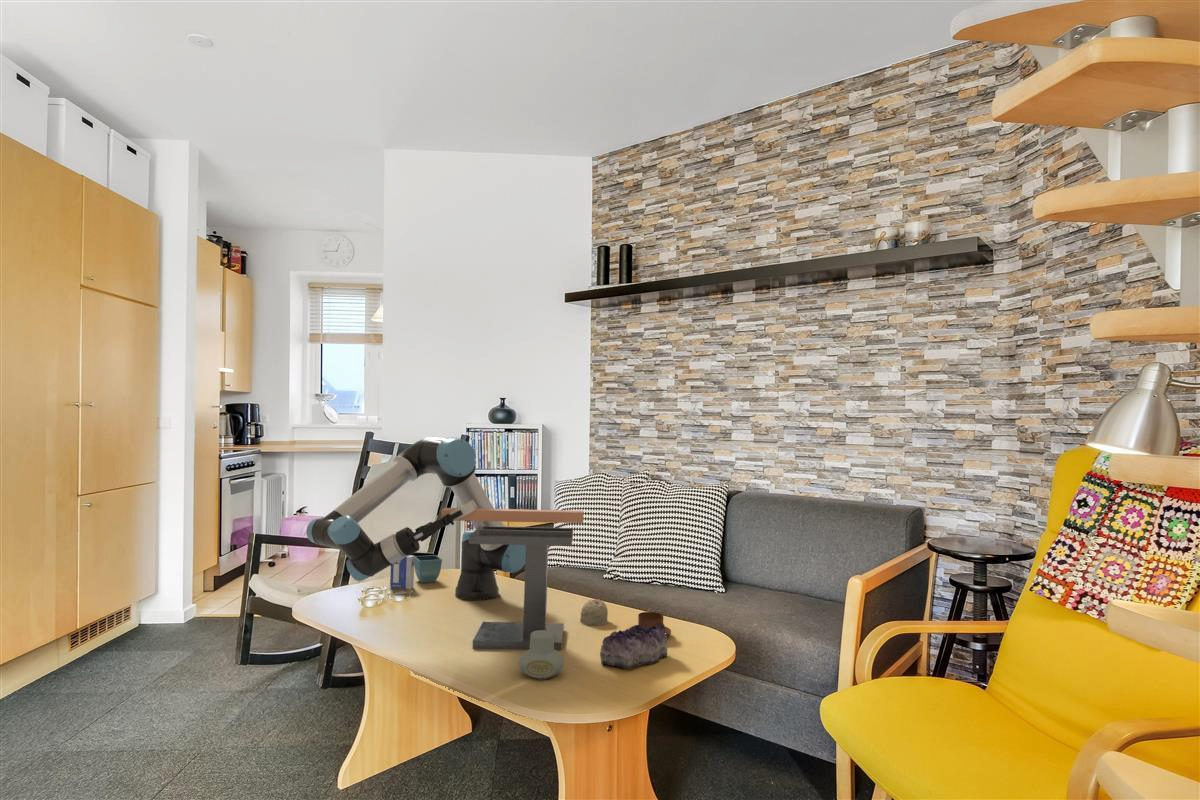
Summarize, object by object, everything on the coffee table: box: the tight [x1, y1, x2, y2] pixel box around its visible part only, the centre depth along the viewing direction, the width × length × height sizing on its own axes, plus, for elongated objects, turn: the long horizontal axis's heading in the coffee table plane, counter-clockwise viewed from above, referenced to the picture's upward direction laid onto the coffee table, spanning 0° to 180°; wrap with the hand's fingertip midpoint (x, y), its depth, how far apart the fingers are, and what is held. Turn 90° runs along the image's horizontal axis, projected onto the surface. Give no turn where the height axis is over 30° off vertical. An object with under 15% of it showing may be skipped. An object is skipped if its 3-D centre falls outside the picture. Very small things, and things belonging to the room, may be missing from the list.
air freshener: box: [518, 630, 565, 680], centre depth 165 cm, size 11×8×10 cm
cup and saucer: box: [631, 611, 672, 637], centre depth 198 cm, size 12×12×6 cm
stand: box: [469, 526, 574, 651], centre depth 193 cm, size 28×18×31 cm, turn 91°
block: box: [440, 507, 584, 524], centre depth 194 cm, size 40×4×3 cm, turn 91°
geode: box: [599, 624, 668, 669], centre depth 178 cm, size 20×12×10 cm, turn 133°
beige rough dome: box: [579, 598, 608, 627], centre depth 211 cm, size 9×9×9 cm
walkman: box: [389, 554, 416, 590], centre depth 248 cm, size 8×3×12 cm, turn 86°
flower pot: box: [414, 554, 443, 584], centre depth 259 cm, size 9×9×9 cm
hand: (473, 505), depth 194 cm, fingers closed on block, 4 cm apart
